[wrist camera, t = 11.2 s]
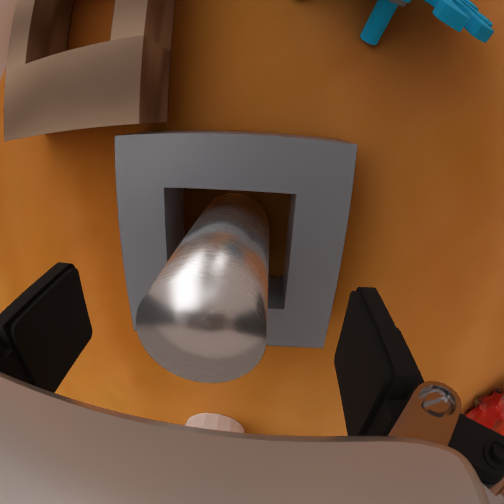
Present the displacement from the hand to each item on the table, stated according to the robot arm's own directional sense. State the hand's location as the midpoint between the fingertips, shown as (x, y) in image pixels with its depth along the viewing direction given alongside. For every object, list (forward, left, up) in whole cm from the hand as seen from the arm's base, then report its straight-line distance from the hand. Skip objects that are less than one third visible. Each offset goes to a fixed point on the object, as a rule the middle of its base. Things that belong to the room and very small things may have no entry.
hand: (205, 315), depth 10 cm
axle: (0, 0, -9) cm, 9 cm away
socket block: (0, 0, -9) cm, 9 cm away
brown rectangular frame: (-13, -8, -9) cm, 18 cm away
